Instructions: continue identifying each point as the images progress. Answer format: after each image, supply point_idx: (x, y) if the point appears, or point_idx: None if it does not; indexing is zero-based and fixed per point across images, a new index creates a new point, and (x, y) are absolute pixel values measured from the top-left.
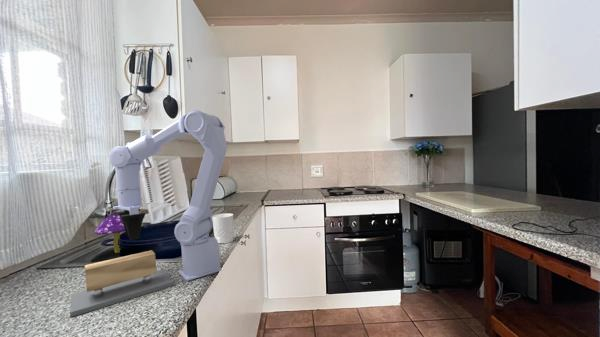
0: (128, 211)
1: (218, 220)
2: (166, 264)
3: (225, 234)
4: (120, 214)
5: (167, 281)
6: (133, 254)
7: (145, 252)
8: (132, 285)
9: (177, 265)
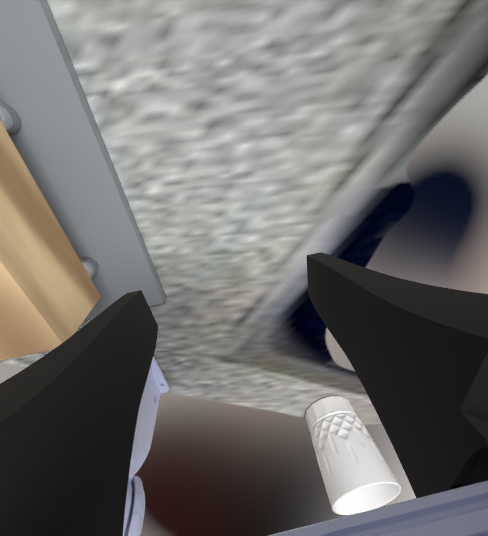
0: (454, 452)
1: (340, 482)
2: (237, 300)
3: (313, 437)
4: (459, 350)
5: None
6: (14, 286)
7: (32, 328)
8: None
9: (208, 325)
